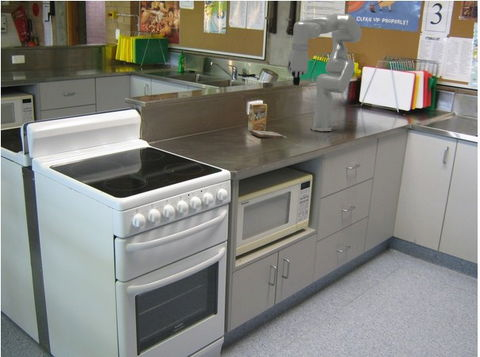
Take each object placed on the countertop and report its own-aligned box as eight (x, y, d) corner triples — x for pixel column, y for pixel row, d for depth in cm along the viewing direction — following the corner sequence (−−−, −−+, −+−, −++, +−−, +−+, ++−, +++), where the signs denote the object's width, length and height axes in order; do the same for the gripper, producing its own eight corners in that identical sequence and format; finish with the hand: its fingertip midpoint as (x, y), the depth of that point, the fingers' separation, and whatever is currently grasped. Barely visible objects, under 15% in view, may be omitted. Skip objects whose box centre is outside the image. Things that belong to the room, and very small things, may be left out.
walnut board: (273, 131, 274) (250, 129, 267) (283, 135, 265) (259, 134, 259) (273, 134, 274) (249, 132, 268) (282, 138, 266) (258, 136, 259)
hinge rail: (276, 135, 276) (276, 132, 276) (287, 139, 266) (287, 137, 266) (274, 135, 275) (274, 132, 275) (285, 139, 266) (285, 137, 266)
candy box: (251, 133, 275) (253, 104, 270) (247, 132, 278) (249, 103, 274) (265, 133, 279) (267, 104, 275) (261, 131, 283) (263, 103, 278)
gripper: (308, 48, 267) (304, 84, 272) (282, 46, 260) (279, 84, 266) (316, 49, 261) (312, 86, 266) (290, 48, 254) (287, 86, 259)
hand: (296, 85), depth 266 cm, fingers closed
